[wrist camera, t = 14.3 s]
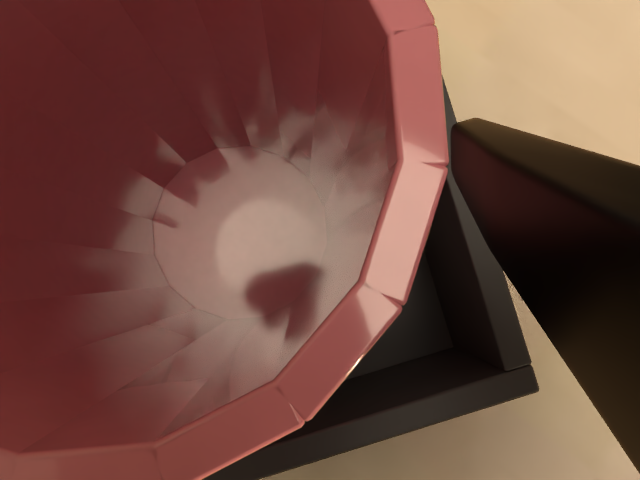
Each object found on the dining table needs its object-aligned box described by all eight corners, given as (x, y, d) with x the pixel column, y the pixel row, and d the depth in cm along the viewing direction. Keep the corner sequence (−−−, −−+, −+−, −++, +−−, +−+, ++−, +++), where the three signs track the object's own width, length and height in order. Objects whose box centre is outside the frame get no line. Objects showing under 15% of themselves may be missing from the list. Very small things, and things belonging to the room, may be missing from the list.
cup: (251, 371, 17) (95, 678, 4) (104, 242, 17) (-501, 151, 4) (377, 223, 18) (594, 84, 5) (233, 99, 18) (46, -384, 5)
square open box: (471, 357, 18) (541, 391, 13) (116, 466, 18) (36, 550, 12) (367, 17, 19) (393, -84, 14) (20, 111, 18) (-94, 44, 13)
